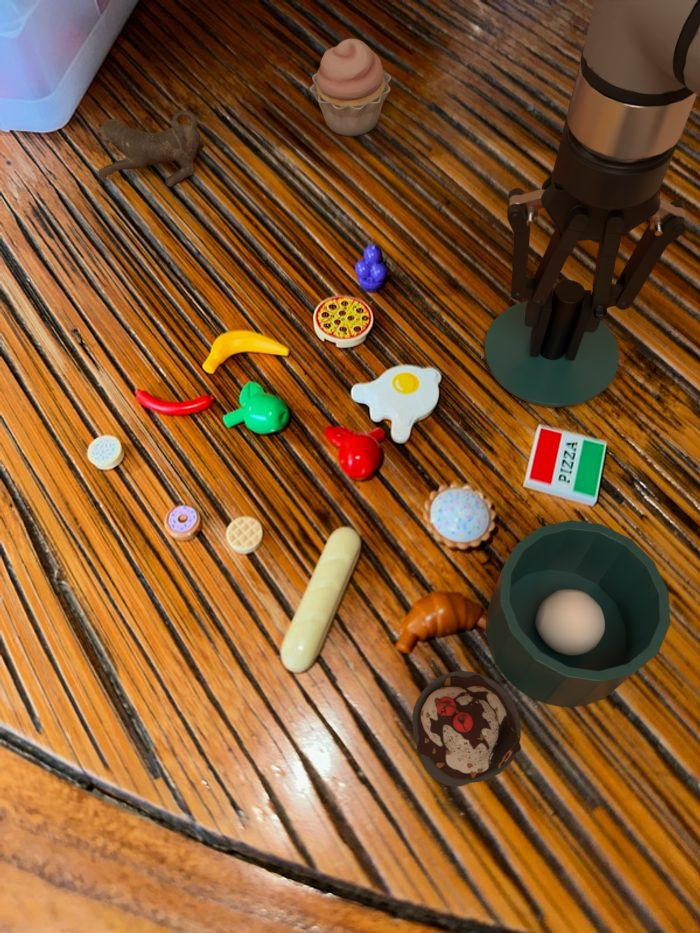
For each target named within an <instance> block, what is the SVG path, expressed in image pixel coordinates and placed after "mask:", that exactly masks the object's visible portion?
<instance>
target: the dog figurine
mask: <svg viewBox="0 0 700 933" xmlns="http://www.w3.org/2000/svg"><path fill="white" fill-rule="evenodd" d="M180 117H187V119H189V122H190V123H189V124H187V125H186V124H180V123H179V119H180ZM171 125H172V127H170V128H169V129H167V130H163V131H159V132H150V131H144V130H139V129H134V128H132V127H129V126H127V124H126V123H124V122H121V120H120V118H118V117H115V118H111V119H108V120H107V121H105V122H104V123H103V124H102V125H101V126H100V127H99V128H97V134H98V135H101V136H100V138H101V140H102V141H104V142H106V143H110V144H111V145H112V146H113V147H115V149H116V150H117V151H118V152H120V153H122V154H124V156H125V157H126V158H124V159H120V160H117V161H114V162H113V163H110V164H108V165H105V166H103V167H102V168H99V170H98V174H97V178H99V179H102V180H104V179H107V177H108V176H112V175H113V174H114V173H115V172H117V171H122V170H137V169H143V168H146V167H147V166H153V165H161V164H162V165H163V164H168V163H171V162H174V161H176V162H177V163H179V164H180V166H181V168H180V169H178V170H177V171H175V172H174V173H172V174H171V175H169V176H167V178H166V179H165V185H166V186H167V187H173V186H174V185H176V184H177V183H180V182H182V181H184V180H185V179H187V178H188V177H191V176H193V175H194V174H195V166H194V160H195V159H196V158H197V155H198V154H199V153H201V151H202V150H203V149H204V148H205V145H206V144H205V142H204V141H203V140H201V133H200V131H199V130H198V129H197V128H198V119H197V117H196V115H195V114H194V113H193V112H192V111H190V110H183V109H182V110H177V111H176V112H175V113H174V114H173V116H172V118H171Z"/></svg>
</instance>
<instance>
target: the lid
mask: <svg viewBox="0 0 700 933" xmlns="http://www.w3.org/2000/svg"><path fill="white" fill-rule="evenodd" d="M585 290H586V289H585V287H584V285H582V283H580V282H578V281H576V280H573V279H564V280H561V281H559V282H558V283H556V284H555V285H554V288H553V293H552V312H551V315H550V319H549V322H548V325H547V329H546V332H545V335H544V339H543V342H542V345H541V349H540V352H539V356H538V357H535V356H530V346H531V332H532V328H533V327H526V325H525V310H526V306H527V302H528V301H527V300H525V301H521V302H518V303H516V304H514V305H512V306H510V307H508V308H506V309H505V310H504V311H502V312H501V313H500V314H498V315H497V316H496V318H495V319H494V320H493V321H492V323H490V326H489V328H488V330H487V333H486V335H485V338H484V340H485V341H484V346H483V347H484V349H483V350H484V359H485V362H486V365H487V368H488V370H489V372H490V373H491V375H492V376H493V378H494V380H496V382H497V383H498V384H499V385H500V386H501V387H502V388H503V389H504V390H506V391H507V392H509V394H512V395H513V396H514V397H516V398H518V399H520V400H522V401H524V402H527V403H530V404H532V405H533V404H534V405H536V406H541V407H547V408H568V407H573V406H578V405H581V404H582V405H583V404H585V403H587V402H590V401H592V400H593V399H595V398H597V397H598V396H600V395H601V394H602V393H604V392H605V391H606V390H607V388H609V386H610V385H611V383H612V382H613V381H614V379H615V376H616V375H617V372H618V369H619V364H620V349H619V346H618V342H617V340H616V337H615V335H614V333H613V332H612V330H611V329H610V328H609V326H608V325H607V324H606V323H605V321H603V319H602V320H601V321H600V324H599V326H598V329H597V330H596V331H595V332H594V333H592V332H584V335H583V338H582V341H581V343H580V346H579V349H578V351H577V354H576V357H575V360H566V349H567V346H568V343H569V341H570V338H571V335H572V332H573V329H574V326H575V323H576V320H577V317H578V314H579V312H580V309H581V306H582V303H583V300H584V297H585Z"/></svg>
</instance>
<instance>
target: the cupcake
mask: <svg viewBox="0 0 700 933" xmlns="http://www.w3.org/2000/svg"><path fill="white" fill-rule="evenodd" d="M311 79H312V82H313V84H312V85H311V86H310V88H309V91H310V93H311V94H312V95H313V97H314V98H315V100H316V101H317V102H318V105H319V108H320V110H321V112H322V116H323V119H324V122H325V124H326V126H327V127H328V128H329V129H330V130H331V131H332V132H333V133H335V134H337V135H340V136H343V137H357V136H363V135H365V134H367V133H369V132H371V131H372V130H374V129H375V127H376V126H377V125H378V122H379V120H380V116H381V112H382V108H383V106H384V103H385V101H386V99H387V97H388V95H389V94H390V92H391V87H390V85H389V83H390V81H391V79H392V76H391V75H390V74H389V73H387V72H384V66H383V64H382V61H381V58H380V57H379V56H378V55H377V54H376V53H375V52H374V51H373V50H371V48H370V47H369V46H368V45H367V44H366V43H365V42H363V41H362V40H360V39H357V38H345V39H344V40H342V41H341V42H339V43H338V44H337V45H336V46H333V47H331V48H328V49H327V50H326V51H325V52H324V54H323V56H322V58H321V60H320V64H319V68H318V70H317V72H316V73H314V74H313V75H312V76H311Z"/></svg>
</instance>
